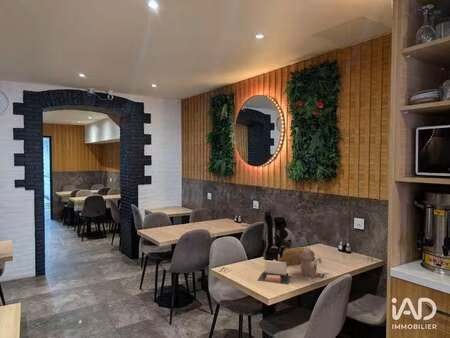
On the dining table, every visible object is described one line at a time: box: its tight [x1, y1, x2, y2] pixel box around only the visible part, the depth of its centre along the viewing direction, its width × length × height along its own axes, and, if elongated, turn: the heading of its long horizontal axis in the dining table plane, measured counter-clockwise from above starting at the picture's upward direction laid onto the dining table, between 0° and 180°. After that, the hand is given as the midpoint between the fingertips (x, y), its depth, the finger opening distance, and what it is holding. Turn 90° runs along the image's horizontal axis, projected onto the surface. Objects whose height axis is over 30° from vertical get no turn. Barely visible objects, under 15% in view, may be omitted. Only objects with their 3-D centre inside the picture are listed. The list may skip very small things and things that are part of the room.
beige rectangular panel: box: [264, 260, 288, 275], centre depth 208 cm, size 2×14×10 cm, turn 71°
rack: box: [256, 269, 292, 286], centre depth 205 cm, size 16×20×4 cm
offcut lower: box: [264, 276, 282, 285], centre depth 200 cm, size 6×10×1 cm, turn 71°
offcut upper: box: [266, 275, 280, 281], centre depth 200 cm, size 5×9×1 cm, turn 79°
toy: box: [299, 246, 323, 279], centre depth 213 cm, size 9×18×20 cm, turn 117°
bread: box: [278, 246, 315, 267], centre depth 243 cm, size 36×11×10 cm, turn 122°
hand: (278, 259), depth 205 cm, fingers open, 9 cm apart
